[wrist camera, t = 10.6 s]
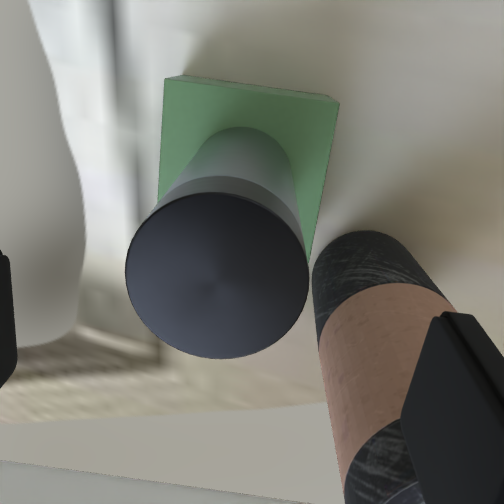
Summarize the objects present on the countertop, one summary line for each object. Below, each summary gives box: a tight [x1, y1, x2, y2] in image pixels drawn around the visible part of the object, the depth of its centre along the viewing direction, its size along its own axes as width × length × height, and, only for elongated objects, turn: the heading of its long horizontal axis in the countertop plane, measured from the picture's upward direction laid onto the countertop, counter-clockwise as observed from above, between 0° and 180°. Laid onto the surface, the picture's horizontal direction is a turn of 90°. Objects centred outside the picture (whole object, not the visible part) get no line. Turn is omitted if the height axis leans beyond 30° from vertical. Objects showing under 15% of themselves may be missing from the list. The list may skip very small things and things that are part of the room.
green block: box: [157, 75, 339, 263], centre depth 28 cm, size 9×9×5 cm
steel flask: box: [125, 127, 309, 359], centre depth 20 cm, size 5×5×13 cm
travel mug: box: [312, 231, 457, 504], centre depth 24 cm, size 8×8×20 cm
